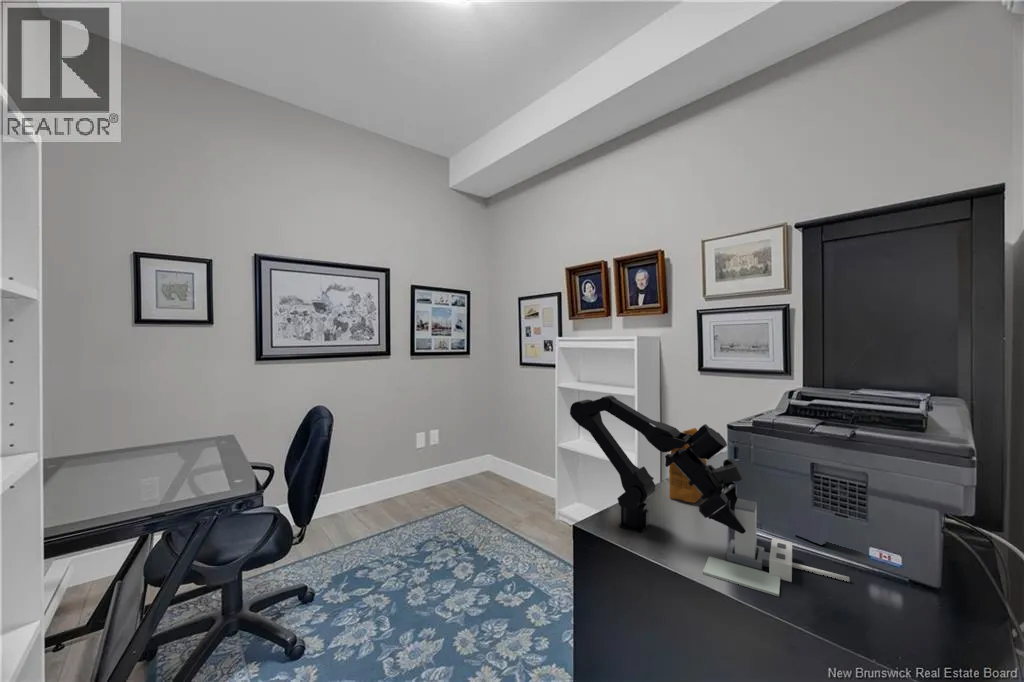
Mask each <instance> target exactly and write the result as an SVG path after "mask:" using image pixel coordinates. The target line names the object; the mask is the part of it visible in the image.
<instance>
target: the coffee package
mask: <svg viewBox="0 0 1024 682" xmlns="http://www.w3.org/2000/svg"><path fill="white" fill-rule="evenodd" d="M697 431H698V429H697V428H696V427H694V428H693V427H692V428H690V429H687V430H683V431H681V432H682V433H686V434H690V435H693V434H695V433H696V432H697ZM689 446H690V445H689V444H686V445H685V446H683V447H682V448H676V449H673V450H672V451H670V454H673V453H674V452H675V451H677V450H678V449H683V450H685V449H686V448H688V447H689ZM700 459H701V458H700ZM701 460H702V461H703V462H704V463H705V464H706V465H707V459H705V458H703V459H701ZM707 466H708V465H707ZM668 468H669V470H668V471H669V472H668V473H669V474H668V475H669V481H668V482H669V498H670V499H671V500H679V501H683V502H686V503H693V504H695V503H697V501H699V500H700V499H702V498H701V496H702V494H701V493H700V491H699V490H698V489H697V488H696V487H695V486H694V485H692V486H690V484H689V483H688V482H689V481H690V480H689V479H688V478H687V477H686V476H685V475H684V474H683V473H682V472H681V471H680V469H679V468H678V467H677V466H676V465H675V464H674V463H672V464H671V465H669V466H668Z"/></svg>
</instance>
